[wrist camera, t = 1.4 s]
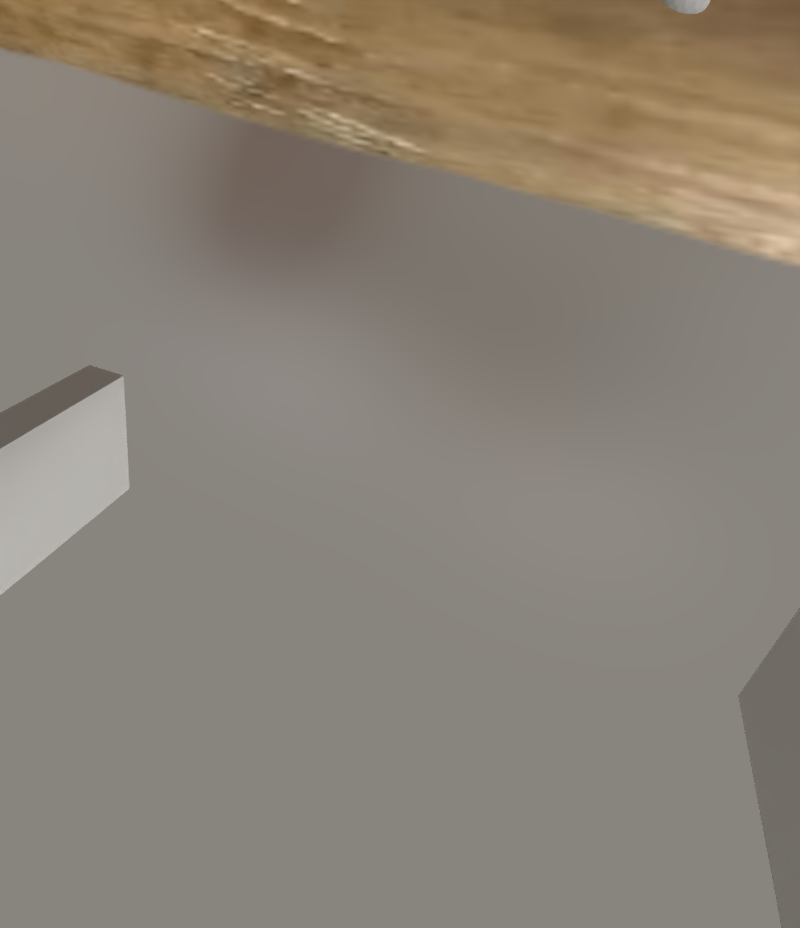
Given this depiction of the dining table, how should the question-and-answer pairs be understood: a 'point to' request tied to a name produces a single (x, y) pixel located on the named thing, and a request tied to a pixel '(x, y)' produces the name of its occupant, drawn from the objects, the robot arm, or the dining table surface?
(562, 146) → the dining table surface
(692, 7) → the teacup
